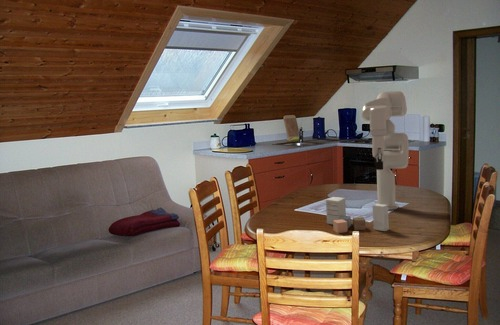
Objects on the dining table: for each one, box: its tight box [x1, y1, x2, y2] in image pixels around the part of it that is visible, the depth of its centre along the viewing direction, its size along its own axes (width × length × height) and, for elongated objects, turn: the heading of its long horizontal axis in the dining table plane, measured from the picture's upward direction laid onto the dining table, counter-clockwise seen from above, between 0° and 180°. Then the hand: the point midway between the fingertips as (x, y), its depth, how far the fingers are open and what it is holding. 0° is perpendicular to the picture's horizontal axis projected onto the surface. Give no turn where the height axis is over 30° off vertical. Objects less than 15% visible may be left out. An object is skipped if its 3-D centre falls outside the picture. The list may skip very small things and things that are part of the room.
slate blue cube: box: [338, 215, 352, 230], centre depth 243 cm, size 5×5×5 cm
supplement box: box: [325, 196, 347, 225], centre depth 250 cm, size 7×7×13 cm
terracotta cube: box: [332, 219, 348, 234], centre depth 236 cm, size 5×5×5 cm
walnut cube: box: [352, 216, 367, 231], centre depth 238 cm, size 5×5×5 cm
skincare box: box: [372, 203, 390, 232], centre depth 234 cm, size 6×4×12 cm
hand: (378, 167), depth 242 cm, fingers open, 9 cm apart
